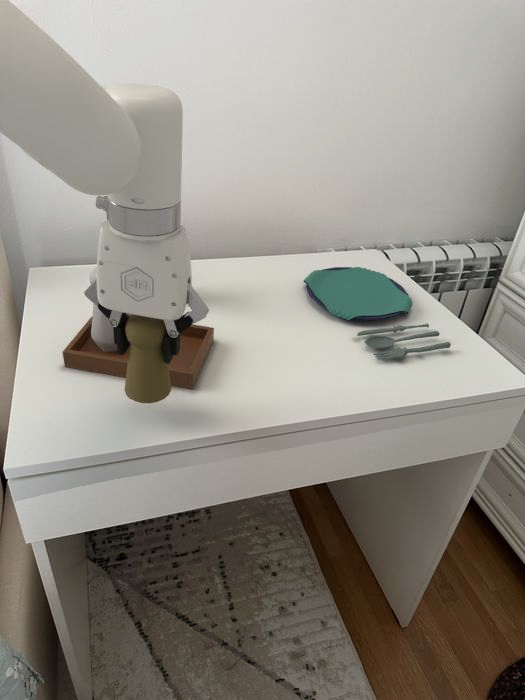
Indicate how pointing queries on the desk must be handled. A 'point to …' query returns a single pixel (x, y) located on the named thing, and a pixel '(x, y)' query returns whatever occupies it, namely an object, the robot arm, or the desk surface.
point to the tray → (94, 359)
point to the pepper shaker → (146, 360)
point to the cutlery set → (366, 304)
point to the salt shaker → (101, 325)
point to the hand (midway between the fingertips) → (147, 352)
